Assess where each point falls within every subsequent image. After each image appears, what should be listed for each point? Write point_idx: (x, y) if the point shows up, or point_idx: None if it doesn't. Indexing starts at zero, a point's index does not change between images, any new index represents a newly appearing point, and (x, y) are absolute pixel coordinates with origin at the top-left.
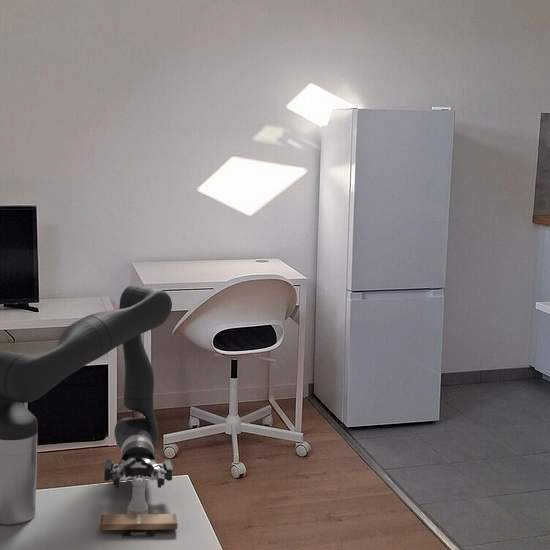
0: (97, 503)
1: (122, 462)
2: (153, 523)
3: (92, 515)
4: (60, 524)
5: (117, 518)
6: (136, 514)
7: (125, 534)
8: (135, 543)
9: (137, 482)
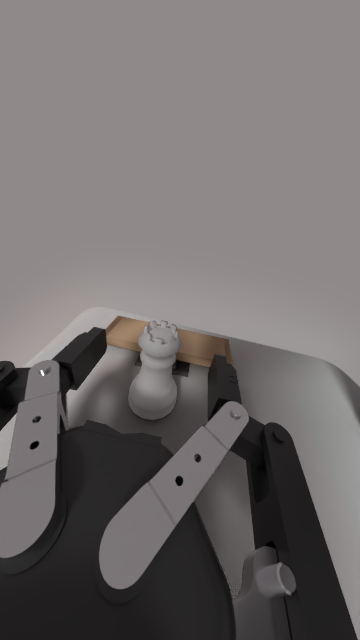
0: None
1: (207, 577)
2: None
3: None
4: (295, 397)
5: (202, 346)
6: None
7: None
8: (178, 327)
9: (169, 328)
